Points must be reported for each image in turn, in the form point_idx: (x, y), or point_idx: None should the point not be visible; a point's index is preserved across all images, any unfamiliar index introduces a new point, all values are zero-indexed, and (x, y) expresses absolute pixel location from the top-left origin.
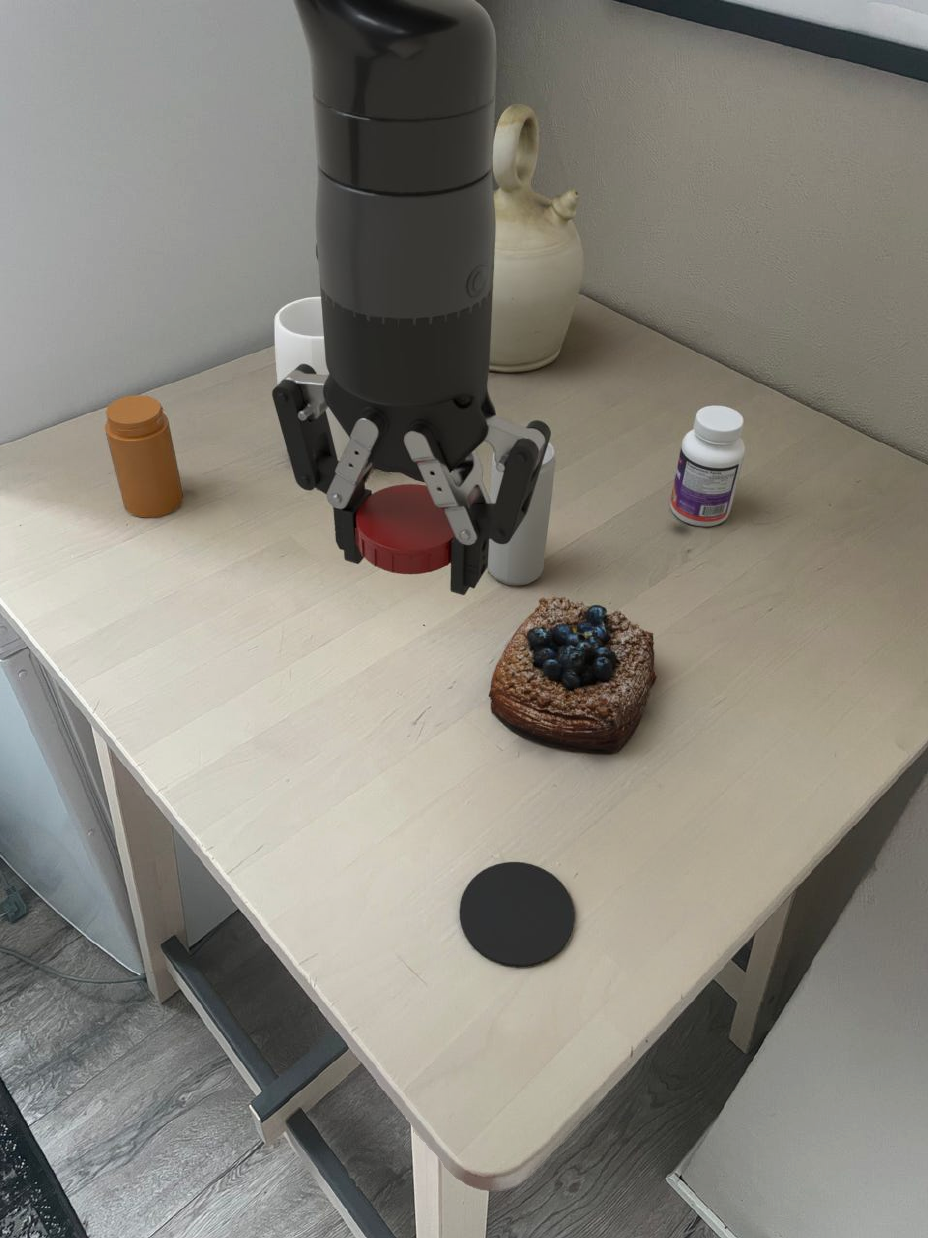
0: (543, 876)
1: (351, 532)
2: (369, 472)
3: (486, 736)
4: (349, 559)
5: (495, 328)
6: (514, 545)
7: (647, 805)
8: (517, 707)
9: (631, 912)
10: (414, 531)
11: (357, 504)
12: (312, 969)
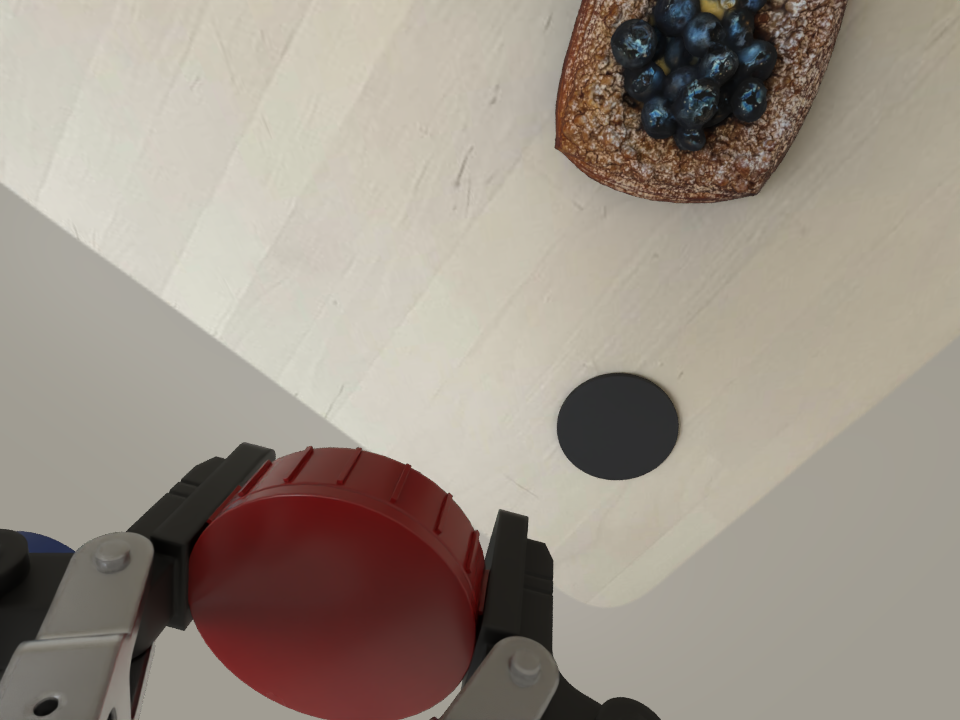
0: (644, 389)
1: None
2: (139, 624)
3: (558, 188)
4: None
5: None
6: None
7: (780, 266)
8: (601, 177)
9: (741, 409)
10: (357, 668)
11: (178, 601)
12: None
